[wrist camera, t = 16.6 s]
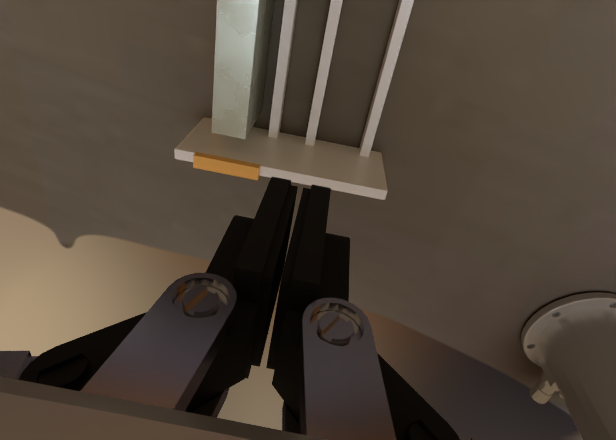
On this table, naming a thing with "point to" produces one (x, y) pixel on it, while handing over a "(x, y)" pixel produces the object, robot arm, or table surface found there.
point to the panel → (240, 64)
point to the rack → (307, 150)
